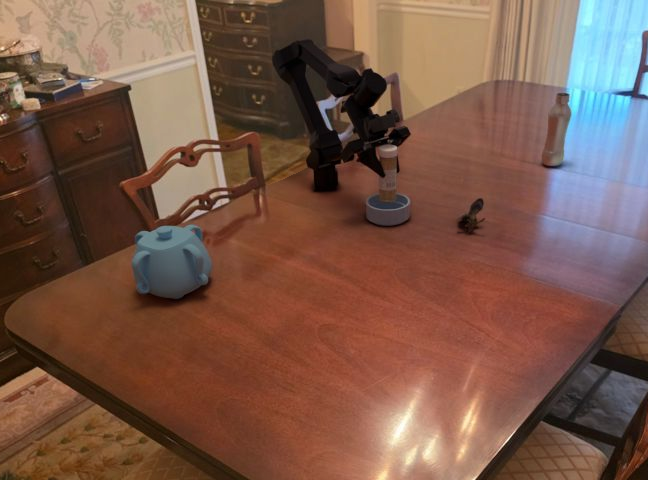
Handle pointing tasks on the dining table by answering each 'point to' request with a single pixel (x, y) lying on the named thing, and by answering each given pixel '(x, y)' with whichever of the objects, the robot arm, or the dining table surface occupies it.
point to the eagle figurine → (472, 215)
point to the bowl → (388, 210)
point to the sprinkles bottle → (388, 173)
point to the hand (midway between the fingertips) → (391, 174)
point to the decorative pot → (170, 261)
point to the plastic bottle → (557, 131)
